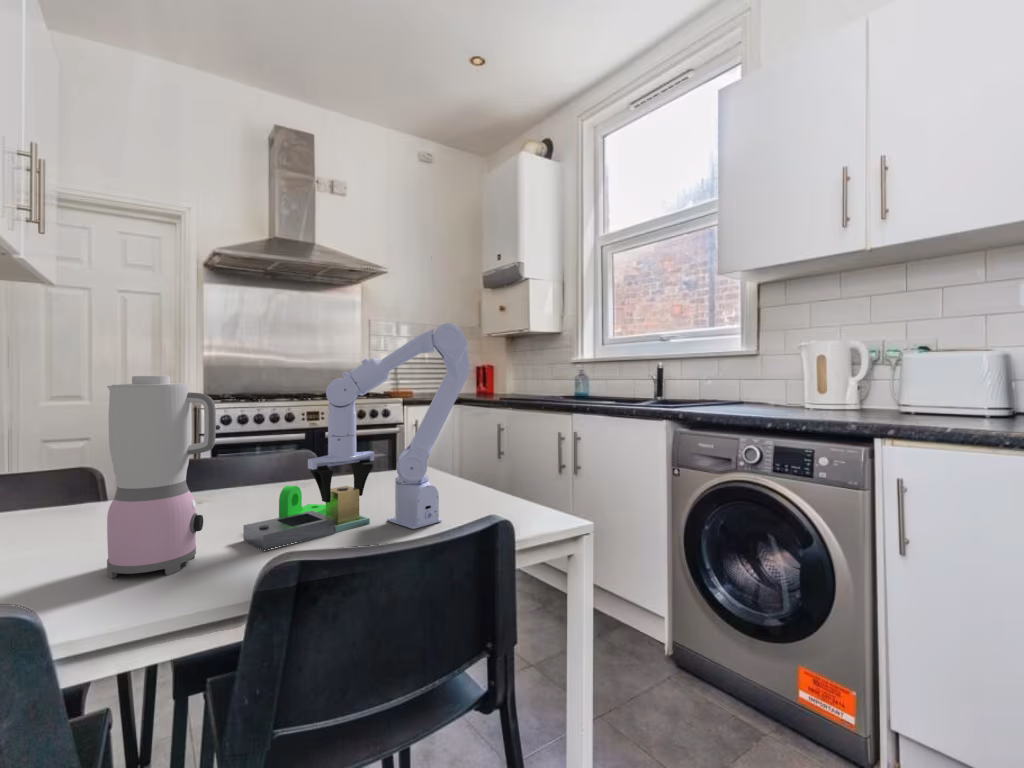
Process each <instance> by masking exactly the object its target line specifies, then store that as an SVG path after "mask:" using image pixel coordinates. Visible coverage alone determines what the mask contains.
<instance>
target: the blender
mask: <svg viewBox="0 0 1024 768" xmlns="http://www.w3.org/2000/svg"><path fill="white" fill-rule="evenodd" d="M106 388H107V389H108V390H109V398H108V399H109V403H108V444H109V453H110V457H111V463H112V468H113V472H114V476H115V481H116V491H115V495H114V498H113V499H112V501H111V503H110V504H109V508H108V511H107V517H106V519H107V520H106V521H107V522H106V527H107V528H106V531H107V533H106V534H107V536H106V538H107V539H106V540H107V559H106V570H107V575H108V577H109V579H115V578H117V575H118V574H125V575H126V574H143V573H149V572H155V571H161V570H164V574H165V575H166V576H170V575H172V574H176V573H178V572H179V571H181V567H182V566H181V565H182V564H184V563H185V562H187V561H190V560H192V559H195V557H196V554H197V544H196V543H197V542H196V540H197V539H196V538H197V537H196V533H197V532H200V531H202V530H203V528H204V527H203V526H204V517H203V514H198V513H197V512H196V505H197V504H196V501H195V498H194V496H193V494H192V493H191V491H190V489H189V487H188V484H187V471H188V467H189V463H190V462H189V460H190V457H191V455H195V454H196V455H197V454H201V453H205V452H209V451H210V450H212V449H213V448H214V447H215V444H216V434H217V433H216V428H217V423H216V420H217V417H216V411H217V410H216V403H215V401H214V400H213V399H212V397H211V396H209V395H207V394H206V393H205V394H204V393H200V392H191V388H190V385H189V384H188V383H179V382H178V383H176V382H175V383H173V382H172V383H171V378H170V375H132V376H131V383H113V384H111V385H107V386H106ZM192 403H193V404H200V405H202V406H203V415H204V416H203V417H204V418H203V419H204V420H203V421H204V422H203V423H204V425H203V427H204V429H203V432H204V433H203V441H202V442H198V443H193V444H192V441H193V440H192V439H193V436H192V434H193V433H192V431H193V429H192V427H193V426H192V425H193V424H192V420H193V419H192Z"/></svg>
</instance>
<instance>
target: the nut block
mask: <svg viewBox="0 0 1024 768" xmlns="http://www.w3.org/2000/svg"><path fill="white" fill-rule="evenodd" d="M325 505H326V516H328V517H331V518H333V519H334V525H336V526H337V525H341V524H345V523H349V522H353V521H357V520H359V515H360V496H359V489H357V488H354V486H353V487H352V486H349V485H344V486H338V487H331V498H330V502H328V503H326V502H325Z"/></svg>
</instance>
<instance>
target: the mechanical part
mask: <svg viewBox="0 0 1024 768" xmlns="http://www.w3.org/2000/svg"><path fill="white" fill-rule="evenodd" d="M302 497H303V495H302V490H301V487H299V486H297V485H285V486H284V487H283V488H282V489H281V491H280V493H279V497H278V518H280V517H285V516H290V515H294V514H299V513H304V512H309V511H315V512H317V513H320V514H323V515H325V516H326V504H322V503H321V504H320V503H319V504H317V503H315V504H313V503H308V504H306V505H303V506H302V504H303V502H302V500H303V498H302Z"/></svg>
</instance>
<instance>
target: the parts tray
mask: <svg viewBox="0 0 1024 768" xmlns="http://www.w3.org/2000/svg"><path fill="white" fill-rule="evenodd" d="M370 523H371V522H370V518H369V517H367V516H365V515H361V514H359V520H357V521H353V522H349V523H345V524H341V525H337V526H336V525H334V533H338V532H343V531H347V530H350V529H355V528H359V527H363V526H366V525H370Z"/></svg>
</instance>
